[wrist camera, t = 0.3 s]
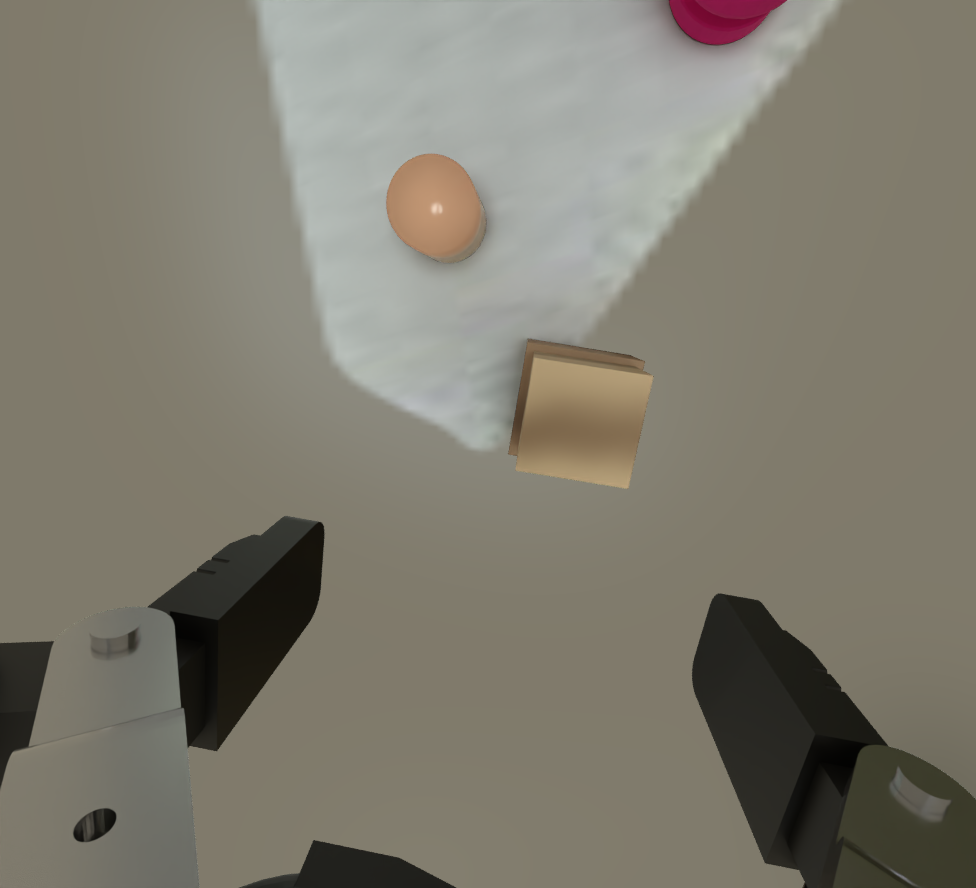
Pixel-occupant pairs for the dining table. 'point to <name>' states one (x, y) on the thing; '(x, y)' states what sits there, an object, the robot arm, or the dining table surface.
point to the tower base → (559, 350)
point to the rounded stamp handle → (436, 208)
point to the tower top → (582, 419)
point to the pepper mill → (721, 18)
